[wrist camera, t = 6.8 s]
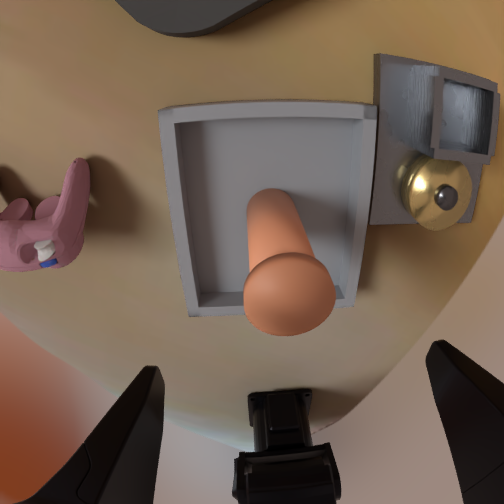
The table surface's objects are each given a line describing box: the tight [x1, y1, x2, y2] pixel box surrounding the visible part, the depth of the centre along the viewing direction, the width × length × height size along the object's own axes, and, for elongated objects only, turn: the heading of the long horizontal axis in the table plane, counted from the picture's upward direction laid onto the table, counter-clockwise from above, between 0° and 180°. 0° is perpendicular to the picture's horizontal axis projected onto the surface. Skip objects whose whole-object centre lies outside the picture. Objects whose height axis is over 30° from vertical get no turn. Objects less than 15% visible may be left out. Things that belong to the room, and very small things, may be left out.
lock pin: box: [243, 188, 336, 336], centre depth 16 cm, size 4×4×9 cm
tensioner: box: [368, 53, 500, 231], centre depth 17 cm, size 11×9×4 cm
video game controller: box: [0, 158, 90, 272], centre depth 17 cm, size 10×5×7 cm, turn 87°
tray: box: [158, 99, 377, 317], centre depth 19 cm, size 14×12×2 cm
